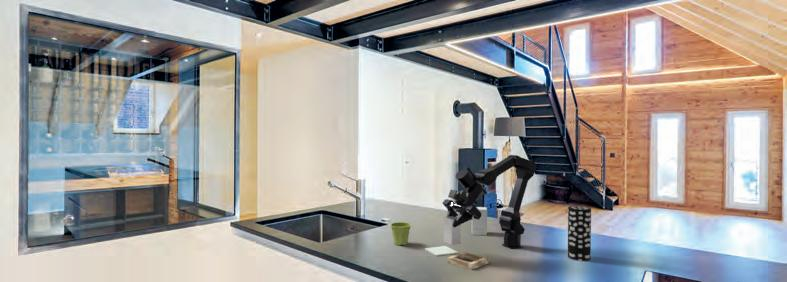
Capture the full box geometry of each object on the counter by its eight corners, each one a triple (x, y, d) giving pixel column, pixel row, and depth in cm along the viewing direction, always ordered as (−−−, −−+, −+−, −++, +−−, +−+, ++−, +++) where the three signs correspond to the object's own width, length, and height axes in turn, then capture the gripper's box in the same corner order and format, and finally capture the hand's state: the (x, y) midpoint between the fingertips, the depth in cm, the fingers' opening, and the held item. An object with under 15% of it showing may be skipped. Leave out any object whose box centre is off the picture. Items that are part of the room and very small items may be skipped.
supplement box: (486, 235, 193) (487, 209, 193) (471, 234, 195) (471, 209, 195) (486, 232, 201) (486, 207, 200) (471, 231, 202) (471, 206, 202)
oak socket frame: (464, 256, 159) (464, 251, 159) (488, 263, 151) (488, 257, 151) (447, 262, 152) (447, 257, 152) (471, 269, 144) (471, 264, 144)
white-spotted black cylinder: (588, 255, 162) (589, 206, 161) (591, 262, 154) (592, 210, 153) (566, 253, 164) (567, 205, 164) (568, 259, 156) (569, 209, 156)
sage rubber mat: (445, 247, 173) (445, 245, 173) (457, 253, 164) (457, 252, 164) (424, 249, 169) (425, 248, 169) (436, 256, 160) (436, 254, 160)
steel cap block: (452, 240, 162) (452, 216, 161) (460, 243, 157) (460, 218, 157) (443, 242, 159) (443, 217, 159) (451, 245, 155) (451, 219, 155)
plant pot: (403, 247, 171) (403, 227, 171) (385, 244, 177) (386, 224, 177) (415, 243, 179) (415, 224, 179) (398, 239, 184) (398, 221, 184)
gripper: (446, 180, 168) (424, 208, 163) (475, 185, 152) (452, 216, 147) (460, 197, 172) (439, 225, 167) (491, 203, 156) (469, 235, 151)
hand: (449, 225), depth 158 cm, fingers closed on steel cap block, 5 cm apart
